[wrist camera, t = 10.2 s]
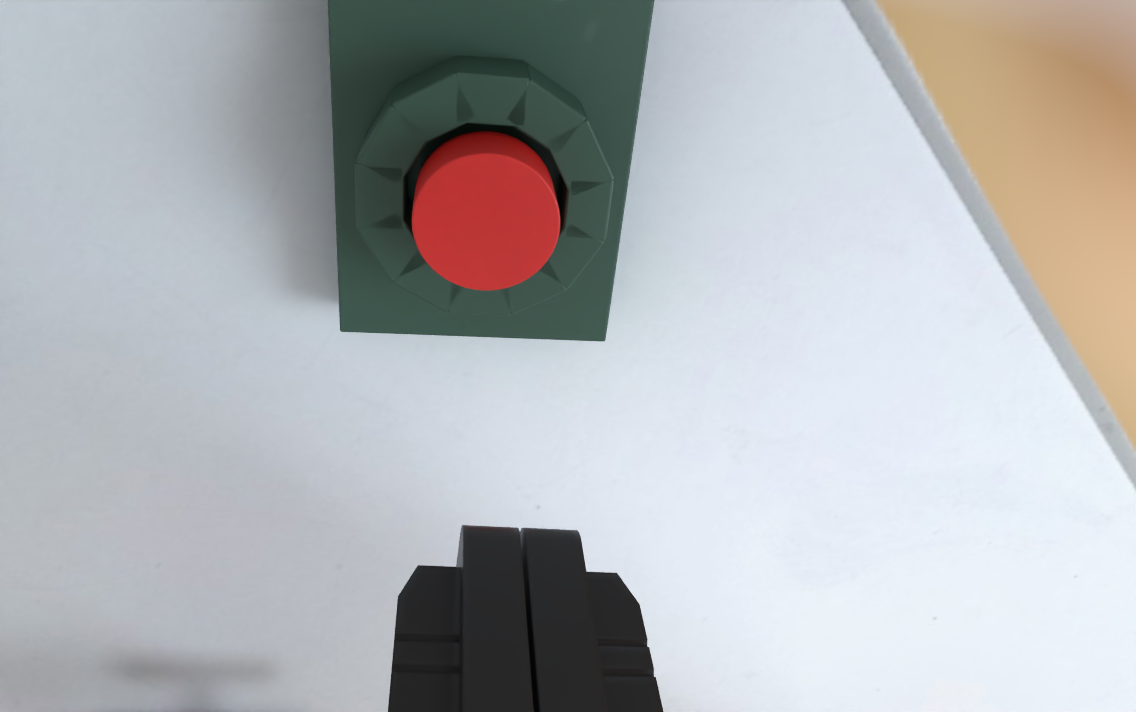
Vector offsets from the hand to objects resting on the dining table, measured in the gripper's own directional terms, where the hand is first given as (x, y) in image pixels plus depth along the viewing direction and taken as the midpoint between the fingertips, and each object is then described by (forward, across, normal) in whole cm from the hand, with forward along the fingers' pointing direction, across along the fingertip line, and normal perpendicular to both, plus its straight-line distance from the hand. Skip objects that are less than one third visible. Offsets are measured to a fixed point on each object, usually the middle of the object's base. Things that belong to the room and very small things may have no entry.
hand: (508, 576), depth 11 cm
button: (+13, 0, 0) cm, 13 cm away
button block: (+16, 0, 0) cm, 16 cm away
